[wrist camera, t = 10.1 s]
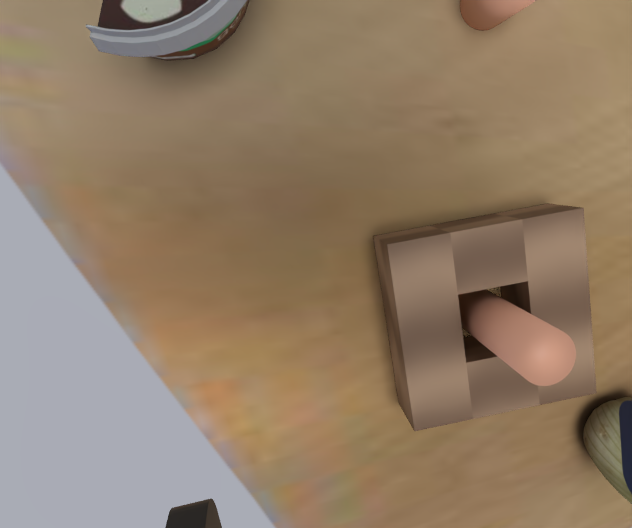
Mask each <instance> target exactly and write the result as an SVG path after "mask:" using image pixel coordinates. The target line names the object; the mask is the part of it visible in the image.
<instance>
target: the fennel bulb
mask: <svg viewBox="0 0 632 528" xmlns="http://www.w3.org/2000/svg"><path fill="white" fill-rule="evenodd" d="M631 399H632V397H623V398H619V399H617V400H613V401H608V402H606V403H603V404H602V405H600V406H599V407H597V408H596V409H594V410H593V412H592V414H591V415H590V416H589V418H588V420H587V422H586V424H585V426H584V432H583V437H584V439H583V440H584V444H585V446H586V449H587V451H588V453H589V455H590V457H591V458H592V460H593V461H594V463H595V464H596V466H597V467H598V469H599V470H600V471H601V473H602V474H603V475H604V477H605V478H606V479H607V480H608V481H609V482H610V484H611V485H612V486H613V487H614V488H615V489H616V490H617V491H618V492H619V493H620V494H621V495H622V496H623V497H624V498H625V499H627V500H628V501H629V502H630V503H631V504H632V494H631V492H630V491H629V489H628V487H627V484H626V482H625V479H624V475H623V470H622V455H621V439H620V423H619V408H620V405H621V404H622V402H624V401H627V400H631Z"/></svg>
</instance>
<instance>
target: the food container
mask: <svg viewBox="0 0 632 528" xmlns="http://www.w3.org/2000/svg"><path fill="white" fill-rule="evenodd" d="M248 3H249V0H103V3H102V8H101V13H100V18H99V23H98V27H96V26H91V25H86V27H87V28H88V29H89V30H90V31H91V33H90V38H91V40H92V41H93V43H94V44H95V46H96V47H97V49H98V50H99V51H101V52H105V53H110V54H115V55H119V56H134V57H148V56H149V57H153V58H158V59H163V60H181V59H193V58H196V57H198V56H201V55H203V54H205V53H208V52H210V51H212V50H215V49H217V48H218V47H219V46H220V45H221V44H222V43H223V42H224V41H225V40H227V39H228V38H229V37H230V36H231V35H232V34H233V33H234V32H235V31H236V29H237V27H238V25H239V24H240V22H241V20H242V19H243V17H244V15H245V12H246V9H247V6H248Z"/></svg>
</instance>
